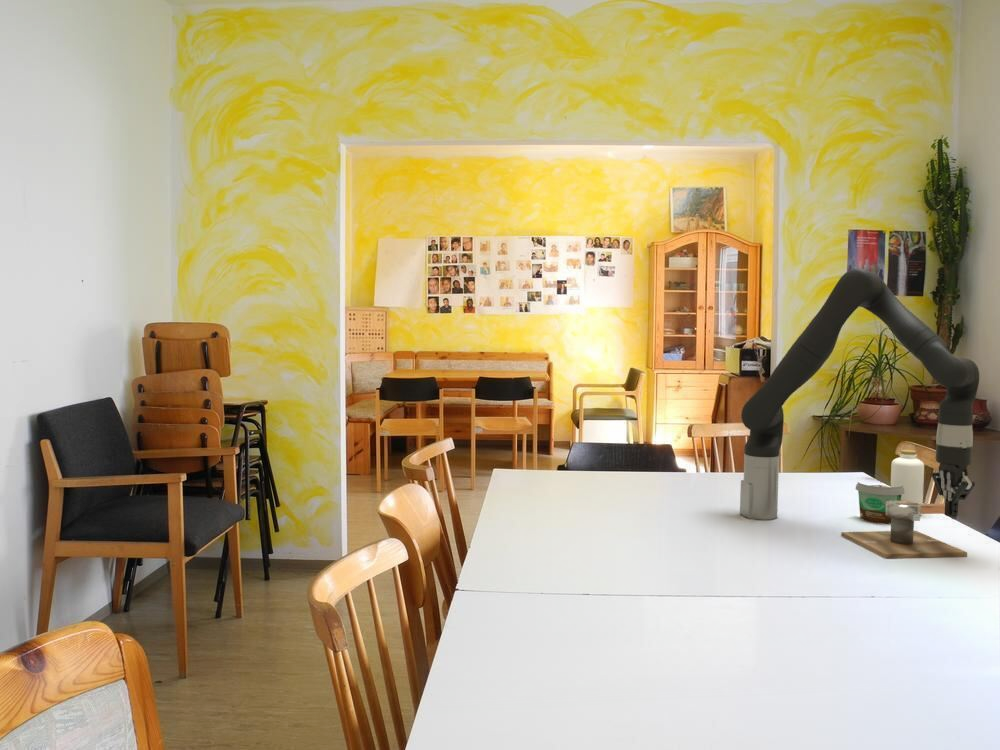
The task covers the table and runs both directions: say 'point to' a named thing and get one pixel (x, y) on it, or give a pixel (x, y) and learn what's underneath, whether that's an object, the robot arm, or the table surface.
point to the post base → (903, 549)
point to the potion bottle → (908, 476)
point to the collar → (911, 510)
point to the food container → (877, 501)
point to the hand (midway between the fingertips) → (951, 516)
